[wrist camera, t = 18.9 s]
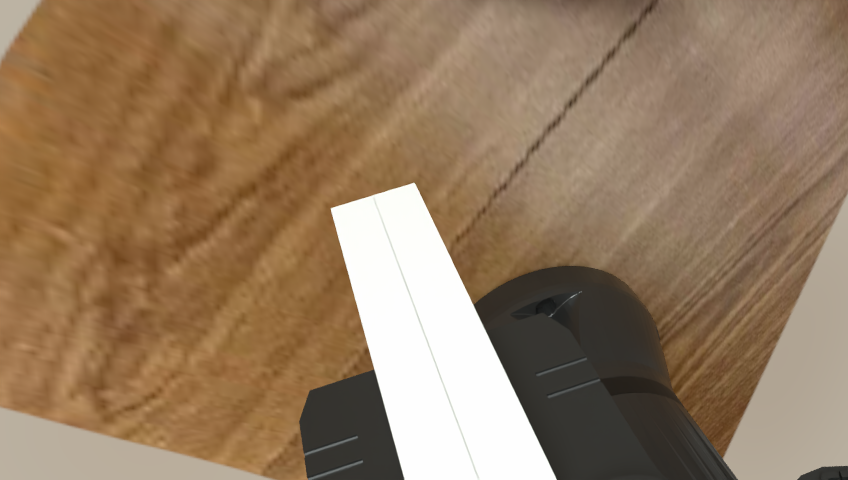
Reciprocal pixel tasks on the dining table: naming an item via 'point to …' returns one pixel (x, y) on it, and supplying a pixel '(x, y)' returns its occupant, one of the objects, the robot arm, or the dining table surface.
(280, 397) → the dining table surface
